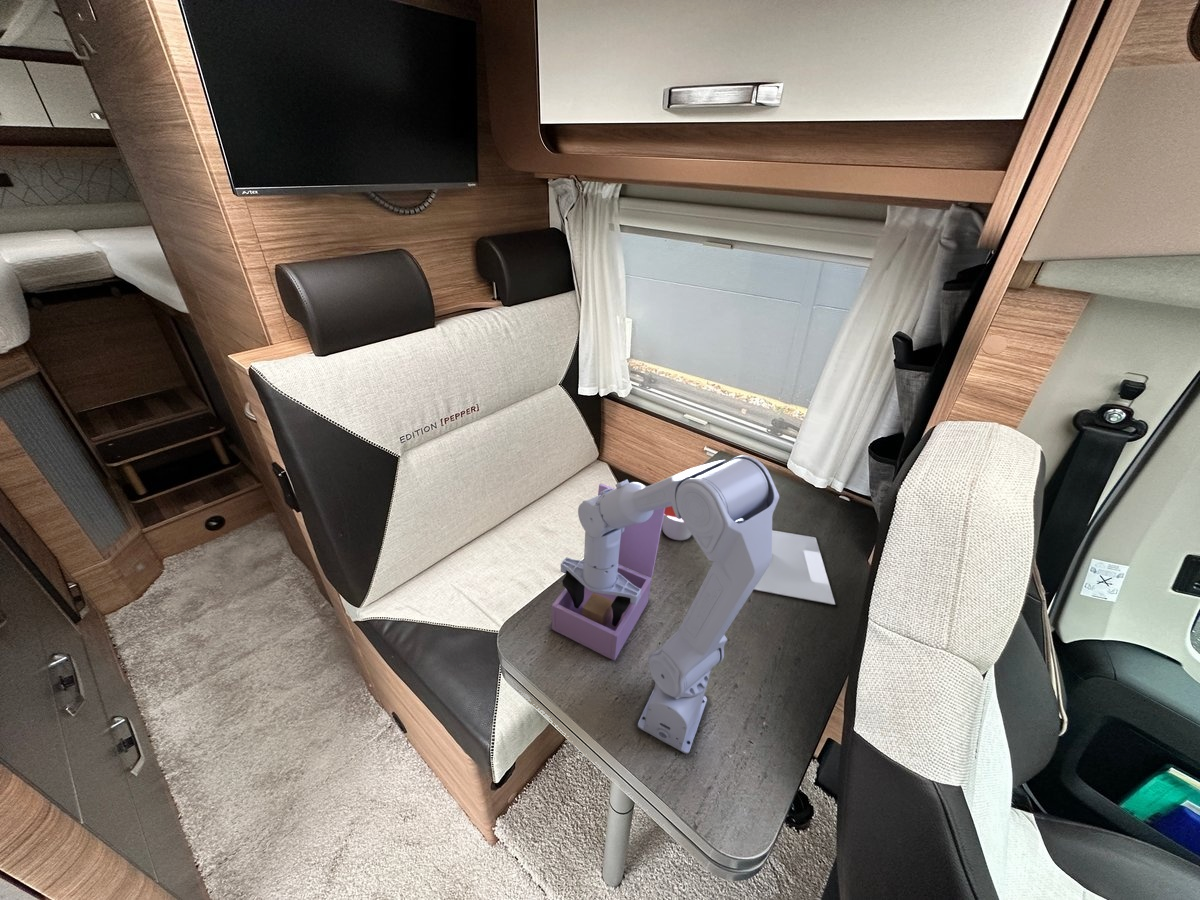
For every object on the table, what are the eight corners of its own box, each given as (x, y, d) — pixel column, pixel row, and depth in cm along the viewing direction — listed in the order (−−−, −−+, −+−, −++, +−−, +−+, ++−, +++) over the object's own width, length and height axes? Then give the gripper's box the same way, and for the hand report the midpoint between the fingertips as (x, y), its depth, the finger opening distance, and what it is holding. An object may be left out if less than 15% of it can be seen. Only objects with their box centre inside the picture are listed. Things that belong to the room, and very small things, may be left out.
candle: (689, 549, 103) (693, 527, 100) (651, 535, 106) (654, 513, 103) (701, 526, 110) (706, 505, 107) (666, 514, 113) (669, 492, 110)
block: (601, 632, 82) (602, 616, 80) (581, 622, 84) (582, 607, 82) (611, 616, 85) (613, 601, 83) (592, 607, 87) (593, 592, 85)
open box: (614, 661, 79) (617, 636, 75) (551, 629, 83) (551, 605, 80) (648, 601, 90) (651, 578, 87) (591, 576, 95) (592, 553, 91)
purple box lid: (664, 507, 79) (665, 505, 80) (598, 484, 84) (600, 483, 85) (651, 578, 86) (652, 575, 87) (591, 553, 91) (593, 551, 91)
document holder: (730, 585, 94) (834, 604, 91) (731, 584, 94) (835, 604, 91) (727, 523, 111) (815, 538, 108) (727, 522, 111) (815, 537, 108)
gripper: (651, 558, 77) (643, 613, 84) (575, 528, 83) (573, 582, 89) (633, 586, 72) (626, 643, 79) (553, 552, 77) (553, 608, 84)
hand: (597, 613), depth 84 cm, fingers open, 7 cm apart
